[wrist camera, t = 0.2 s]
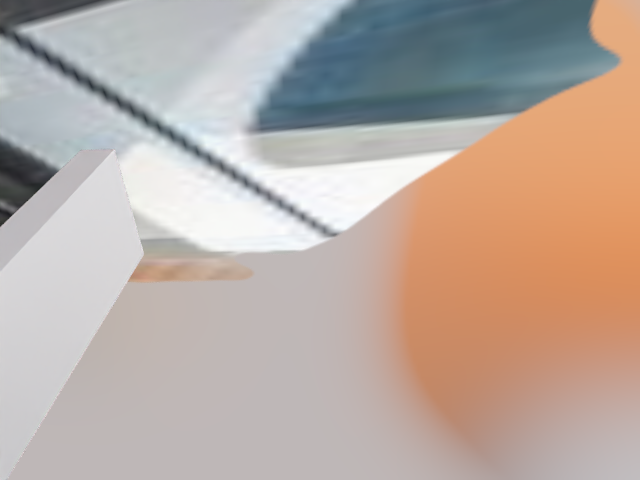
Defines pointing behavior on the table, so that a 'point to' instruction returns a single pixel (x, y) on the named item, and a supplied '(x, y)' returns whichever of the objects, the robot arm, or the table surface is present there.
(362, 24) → the table surface
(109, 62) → the table surface
